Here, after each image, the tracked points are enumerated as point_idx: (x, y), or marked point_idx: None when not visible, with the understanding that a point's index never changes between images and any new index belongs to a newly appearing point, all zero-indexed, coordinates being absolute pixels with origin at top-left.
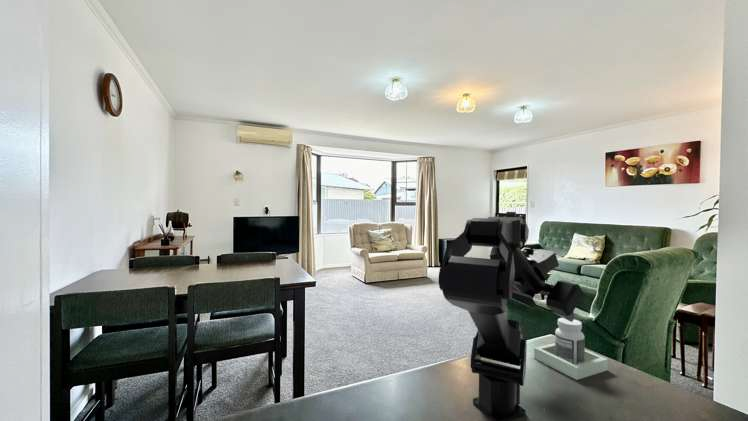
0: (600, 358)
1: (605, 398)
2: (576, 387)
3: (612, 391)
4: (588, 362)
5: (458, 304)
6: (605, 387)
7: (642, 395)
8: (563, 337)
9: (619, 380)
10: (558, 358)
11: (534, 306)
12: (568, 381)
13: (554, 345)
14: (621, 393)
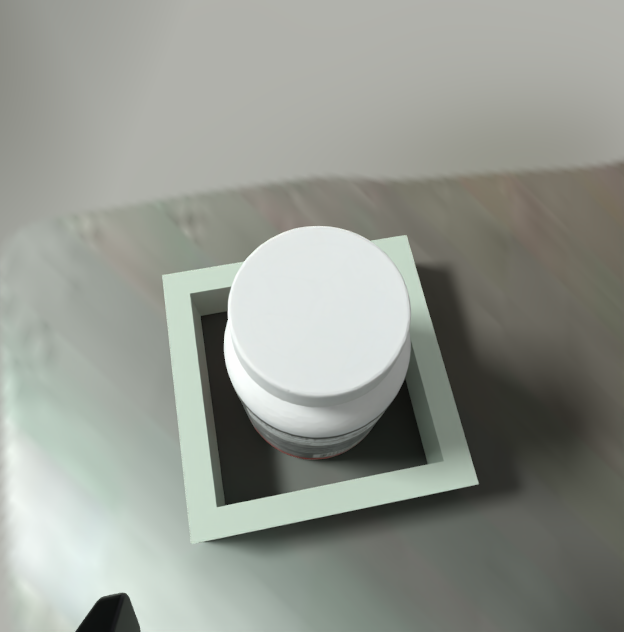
0: (396, 264)
1: (616, 484)
2: (522, 547)
3: (563, 400)
4: (427, 362)
5: None
6: (530, 401)
7: (595, 304)
8: (355, 429)
9: (480, 288)
10: (359, 499)
11: (133, 629)
12: (465, 542)
13: (199, 381)
14: (579, 375)
